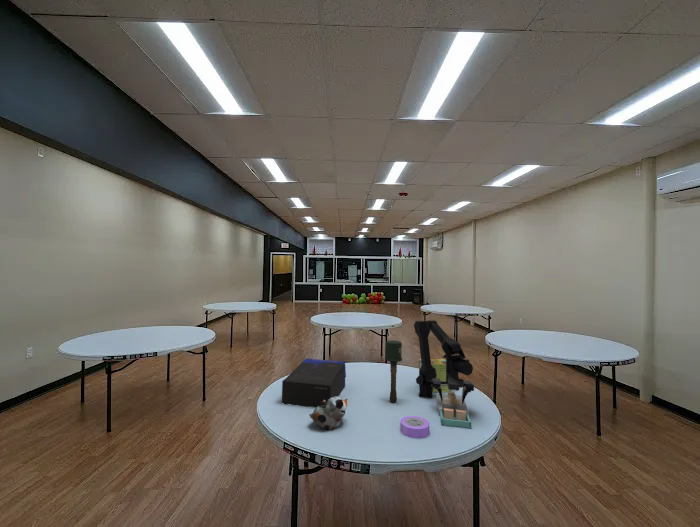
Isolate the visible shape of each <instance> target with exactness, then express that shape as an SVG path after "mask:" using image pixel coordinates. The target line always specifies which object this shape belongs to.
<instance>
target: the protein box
mask: <svg viewBox="0 0 700 527" xmlns="http://www.w3.org/2000/svg"><path fill="white" fill-rule="evenodd" d="M421 365H422V363H421V358H419V359H418V371H419V370H420V368H421ZM431 365H432V366H433V368H435V369H436V375H437V376H436V378H438V379H440V381H446V358H443V359H442V358H441V359H439V358H431ZM431 385H432V384H431ZM441 390H442V393H448V391H451V390H449V389H448V386H444V385H441ZM433 393H439V392H438V390H437V389H435V387H433Z"/></svg>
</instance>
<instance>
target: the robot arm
mask: <svg viewBox="0 0 700 527" xmlns="http://www.w3.org/2000/svg"><path fill="white" fill-rule="evenodd" d="M413 327H414V333H415V334H416V335H417V337H418V344H419V353H420V359H421V363H422V365H421V368H420V370H419V369H418V376H417V377H416V378H415V381H416V382H415V384H417V385H418V386H419V389H418V391H419V392H418V397H420V398H429V399H430V398H431V399H433V395H434V392H433V387H435V389H437V390H438V392H437V393H438V394H440V398H441V401H442V402H443V398H442V394H443V392H442V390H441V385H444V386H448V389H449V390H450V391H457V392H458V391H460V389H461V388H462V392H461V396H462V404H463V403H464V400H465V399H466V397H467V395H468V394H469V393H471V392H473V391H475V385H474V383H473V382H472V381H470V380H464V378H460V377H459V376H460V375H459V374H463V375H465V376H470V375H471V374H473V369H474V367H473V365H472V363H471V362H470V360H469V359H467V358H466V354H465V353H464V351H463V348H462V346H461V344H460V343H459V342H458V341H457V340H456V339H453V338H452V337H450V336H449V335H448V334H447V332H445V331H444V330H443V328H442V327H441V326H440V325H439V324H438V322H437V321H436V320H435V319H430V320H429V319H428V320H427V319H426V320H416V321H415V323H413ZM431 332H432V334H433V335H434V336H435V337H436V338H437V341H439V343H440V344H441V349H442V351H443V352H444V355H443V359H445V360H446V381H440V379H438V378H436V376H437V375H436V369H435V368H433V366H432V365H431V359H432V358H431V353H430V351H431V350H430V341H429V336H430V333H431ZM431 384H432V385H431Z"/></svg>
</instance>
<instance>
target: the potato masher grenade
mask: <svg viewBox="0 0 700 527" xmlns="http://www.w3.org/2000/svg"><path fill="white" fill-rule="evenodd" d="M402 344H403V342H402V341H400V340H395V339H393V340H392V339H391V340H386V342H385V361H388V362H389V363H390V364H389V365H390V391H389V402H390V403H392V404H395V403H397V400H398V397H397V394H398V393H397V372H398V362H399V363H400V362H402V361H403V358H402V352H403V351H402V350H403V349H402V347H403V345H402Z"/></svg>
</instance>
